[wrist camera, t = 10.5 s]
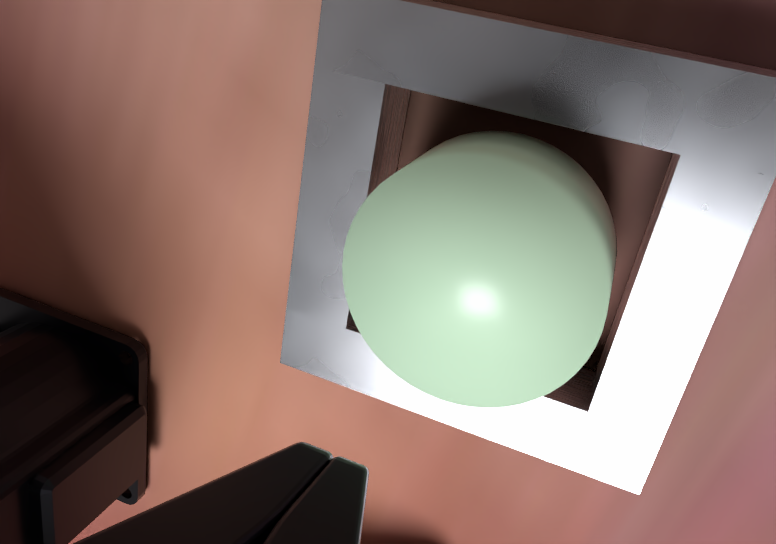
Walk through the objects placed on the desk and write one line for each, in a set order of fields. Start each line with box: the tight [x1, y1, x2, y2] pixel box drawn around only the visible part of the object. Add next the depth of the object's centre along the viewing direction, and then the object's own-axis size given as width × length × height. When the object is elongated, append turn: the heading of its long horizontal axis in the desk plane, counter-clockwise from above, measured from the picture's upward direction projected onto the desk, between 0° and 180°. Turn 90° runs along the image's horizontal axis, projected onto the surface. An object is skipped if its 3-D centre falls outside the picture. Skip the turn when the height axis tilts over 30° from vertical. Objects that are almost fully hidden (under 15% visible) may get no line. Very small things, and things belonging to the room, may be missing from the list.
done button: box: [342, 130, 617, 408], centre depth 14 cm, size 5×5×2 cm
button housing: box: [280, 0, 776, 495], centre depth 15 cm, size 9×9×2 cm
